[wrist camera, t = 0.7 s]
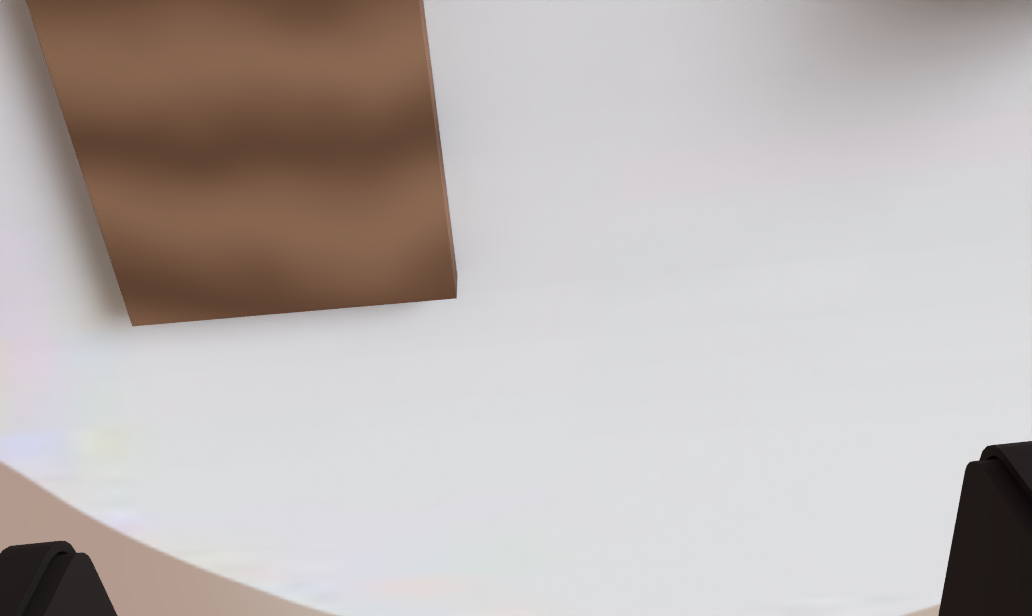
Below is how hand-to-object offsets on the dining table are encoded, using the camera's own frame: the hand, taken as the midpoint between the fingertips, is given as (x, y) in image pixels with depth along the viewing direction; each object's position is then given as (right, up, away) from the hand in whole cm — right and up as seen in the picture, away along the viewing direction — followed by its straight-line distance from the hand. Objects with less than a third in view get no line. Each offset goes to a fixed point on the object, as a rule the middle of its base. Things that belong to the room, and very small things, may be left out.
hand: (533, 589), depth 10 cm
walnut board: (-10, +11, +28) cm, 32 cm away
